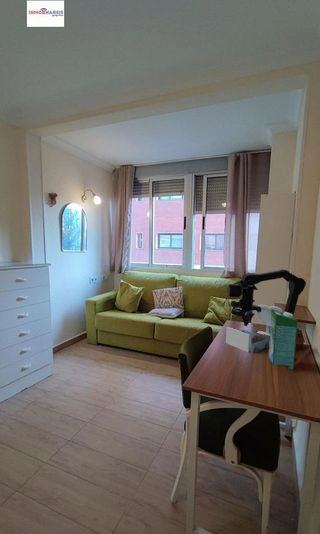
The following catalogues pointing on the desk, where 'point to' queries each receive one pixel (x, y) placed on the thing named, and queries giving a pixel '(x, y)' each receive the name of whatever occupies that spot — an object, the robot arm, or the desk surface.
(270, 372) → the desk surface
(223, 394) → the desk surface
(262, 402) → the desk surface
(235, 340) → the tall thin white panel
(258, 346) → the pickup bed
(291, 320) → the milk carton
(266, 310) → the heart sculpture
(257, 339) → the brown cube
